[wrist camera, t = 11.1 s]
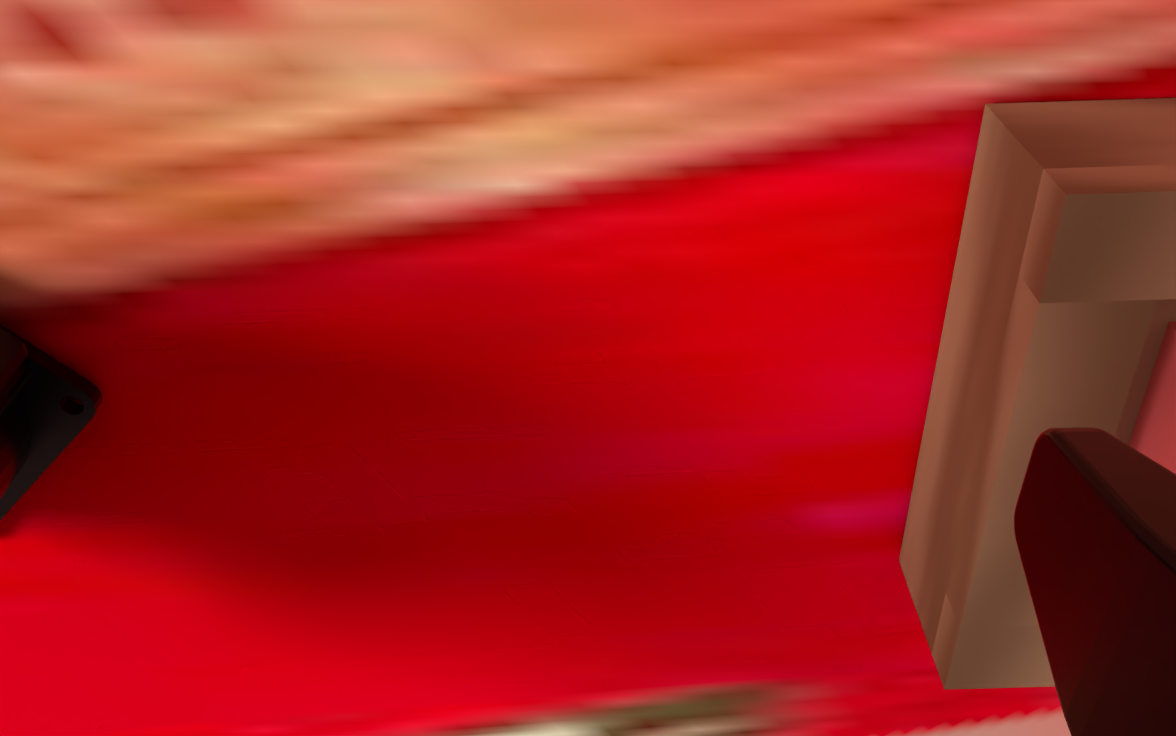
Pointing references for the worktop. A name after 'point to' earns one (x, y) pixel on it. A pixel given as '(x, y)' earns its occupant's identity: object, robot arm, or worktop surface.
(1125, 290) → the walnut base
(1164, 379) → the red brick
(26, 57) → the worktop surface
